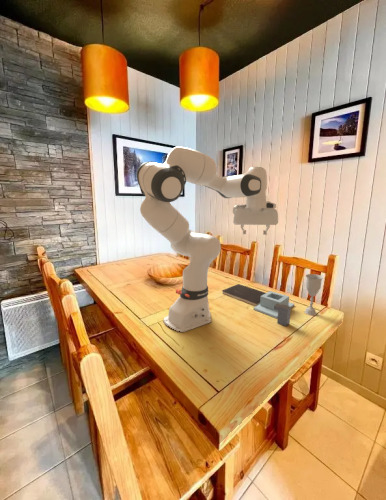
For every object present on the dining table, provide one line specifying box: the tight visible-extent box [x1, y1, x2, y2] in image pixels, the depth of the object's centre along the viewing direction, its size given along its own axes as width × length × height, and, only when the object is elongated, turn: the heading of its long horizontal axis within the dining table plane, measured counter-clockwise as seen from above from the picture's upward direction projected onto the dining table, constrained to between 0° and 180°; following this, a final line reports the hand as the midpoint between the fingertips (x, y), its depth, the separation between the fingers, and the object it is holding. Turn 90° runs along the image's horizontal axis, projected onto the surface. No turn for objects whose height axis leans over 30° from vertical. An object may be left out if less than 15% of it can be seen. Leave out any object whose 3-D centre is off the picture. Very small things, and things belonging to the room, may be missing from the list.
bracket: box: [274, 304, 292, 327], centre depth 98 cm, size 3×6×8 cm, turn 43°
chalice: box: [304, 273, 324, 316], centre depth 105 cm, size 7×7×18 cm
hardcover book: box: [221, 283, 267, 307], centre depth 127 cm, size 16×23×2 cm
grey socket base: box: [253, 290, 295, 319], centre depth 111 cm, size 18×12×6 cm, turn 133°
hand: (254, 234), depth 107 cm, fingers open, 8 cm apart
